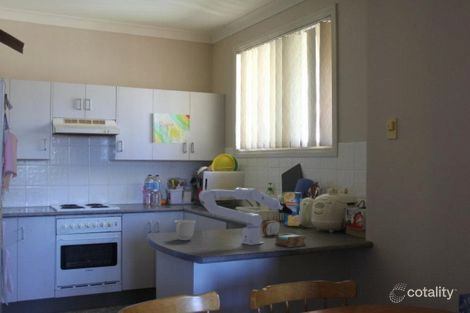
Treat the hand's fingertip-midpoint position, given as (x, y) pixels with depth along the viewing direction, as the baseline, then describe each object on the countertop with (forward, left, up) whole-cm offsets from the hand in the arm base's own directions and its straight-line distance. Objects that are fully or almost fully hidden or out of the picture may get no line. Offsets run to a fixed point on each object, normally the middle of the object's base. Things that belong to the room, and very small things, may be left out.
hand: (289, 211), depth 275 cm
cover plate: (-5, -6, -13) cm, 16 cm away
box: (-6, -6, -17) cm, 19 cm away
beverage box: (+52, +49, -17) cm, 73 cm away
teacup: (-43, +38, -17) cm, 59 cm away
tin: (+9, +24, -17) cm, 30 cm away
